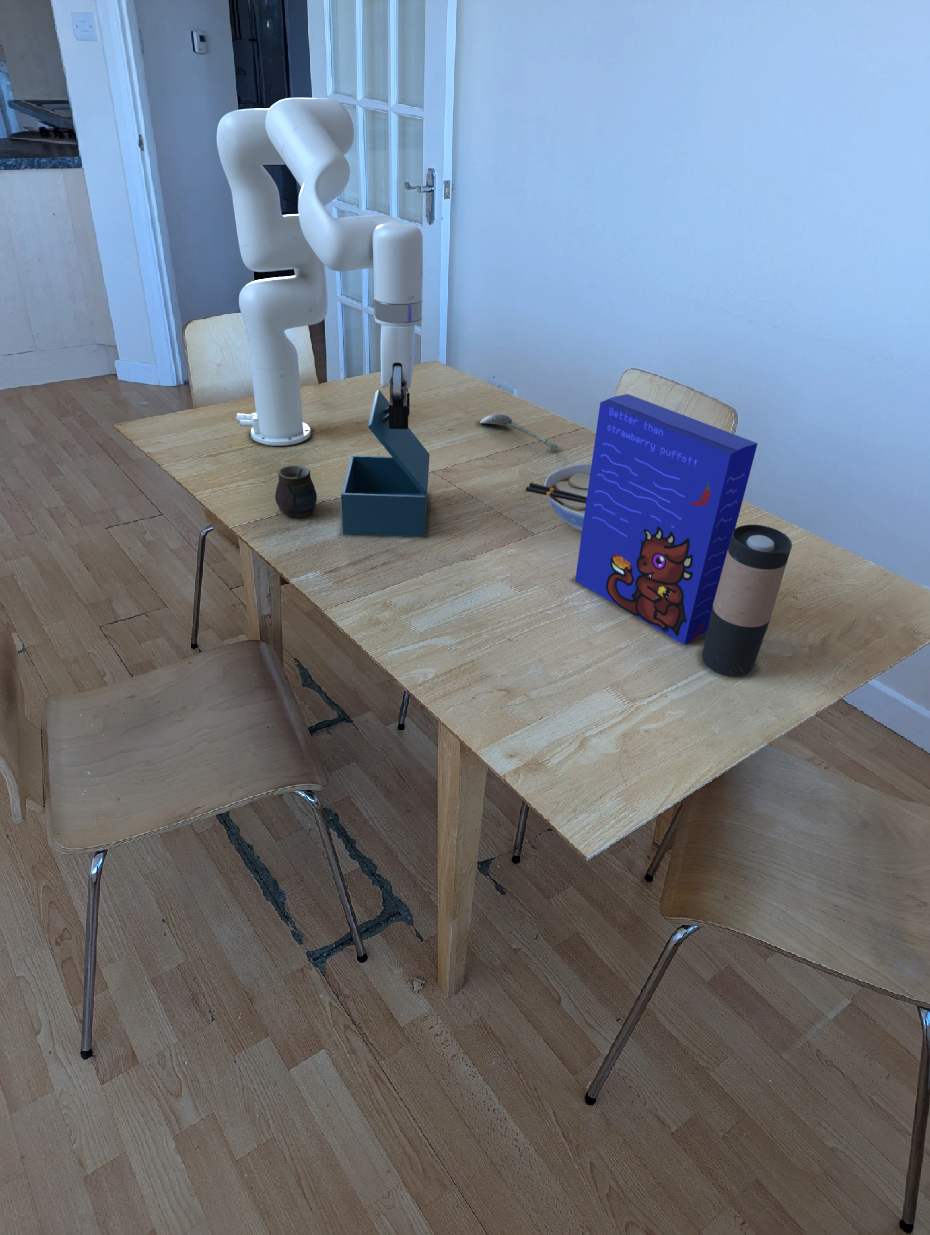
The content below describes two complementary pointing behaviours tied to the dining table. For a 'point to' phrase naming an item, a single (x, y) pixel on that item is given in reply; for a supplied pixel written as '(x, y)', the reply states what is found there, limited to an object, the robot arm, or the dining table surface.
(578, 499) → the ramen bowl
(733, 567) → the travel mug
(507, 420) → the soupspoon
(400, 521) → the blue open rectangular box
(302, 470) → the mate gourd
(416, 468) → the lid
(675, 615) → the cereal box
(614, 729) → the dining table surface
